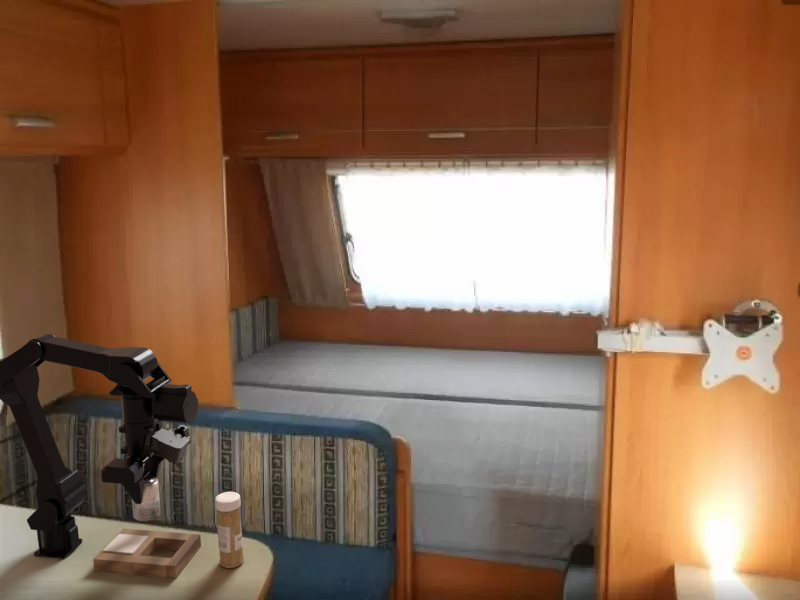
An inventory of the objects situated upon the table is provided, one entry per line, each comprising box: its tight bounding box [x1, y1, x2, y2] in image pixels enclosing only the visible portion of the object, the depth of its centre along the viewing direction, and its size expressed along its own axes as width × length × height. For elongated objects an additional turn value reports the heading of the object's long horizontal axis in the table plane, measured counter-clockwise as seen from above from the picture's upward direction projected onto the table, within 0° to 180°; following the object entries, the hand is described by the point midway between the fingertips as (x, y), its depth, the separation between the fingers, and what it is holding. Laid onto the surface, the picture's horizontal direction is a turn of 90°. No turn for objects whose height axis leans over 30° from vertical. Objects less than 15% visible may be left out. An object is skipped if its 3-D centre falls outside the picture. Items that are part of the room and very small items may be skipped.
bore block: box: [92, 528, 202, 579], centre depth 144 cm, size 16×11×3 cm
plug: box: [131, 475, 161, 522], centre depth 142 cm, size 5×5×7 cm
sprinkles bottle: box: [214, 491, 245, 569], centre depth 142 cm, size 5×5×14 cm
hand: (145, 497), depth 142 cm, fingers closed on plug, 5 cm apart
